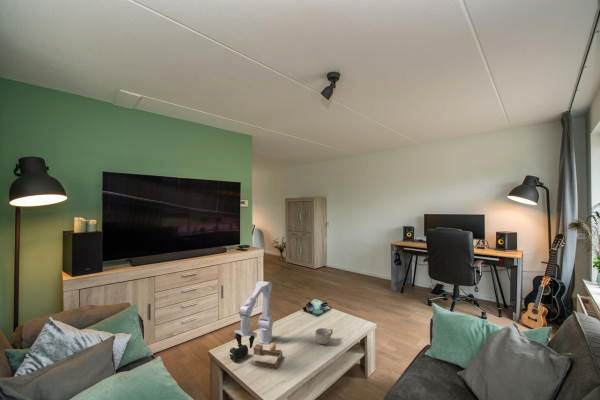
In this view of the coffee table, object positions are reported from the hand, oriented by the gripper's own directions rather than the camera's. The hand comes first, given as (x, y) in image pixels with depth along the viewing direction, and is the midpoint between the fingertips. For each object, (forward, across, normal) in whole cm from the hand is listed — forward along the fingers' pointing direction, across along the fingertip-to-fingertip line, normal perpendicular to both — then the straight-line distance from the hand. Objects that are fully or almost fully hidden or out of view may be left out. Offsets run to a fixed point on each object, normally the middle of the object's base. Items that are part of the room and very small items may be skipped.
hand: (245, 346), depth 161 cm
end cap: (+10, -6, +3) cm, 13 cm away
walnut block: (+10, +4, +11) cm, 16 cm away
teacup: (+10, +45, +36) cm, 58 cm away
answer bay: (+10, +14, +5) cm, 18 cm away
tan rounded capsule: (+10, +13, +15) cm, 22 cm away
